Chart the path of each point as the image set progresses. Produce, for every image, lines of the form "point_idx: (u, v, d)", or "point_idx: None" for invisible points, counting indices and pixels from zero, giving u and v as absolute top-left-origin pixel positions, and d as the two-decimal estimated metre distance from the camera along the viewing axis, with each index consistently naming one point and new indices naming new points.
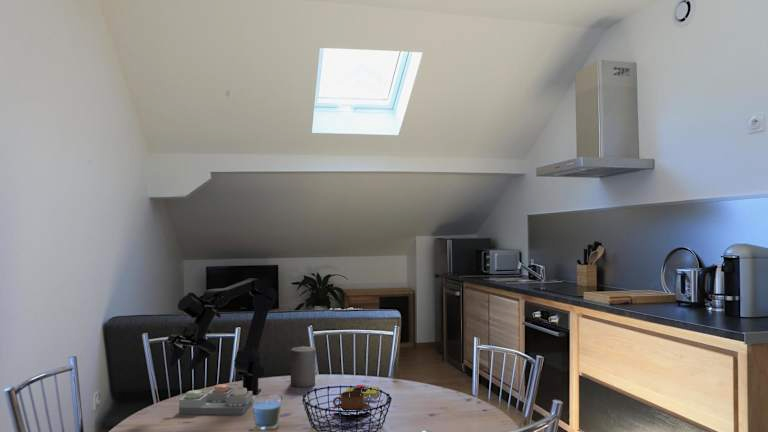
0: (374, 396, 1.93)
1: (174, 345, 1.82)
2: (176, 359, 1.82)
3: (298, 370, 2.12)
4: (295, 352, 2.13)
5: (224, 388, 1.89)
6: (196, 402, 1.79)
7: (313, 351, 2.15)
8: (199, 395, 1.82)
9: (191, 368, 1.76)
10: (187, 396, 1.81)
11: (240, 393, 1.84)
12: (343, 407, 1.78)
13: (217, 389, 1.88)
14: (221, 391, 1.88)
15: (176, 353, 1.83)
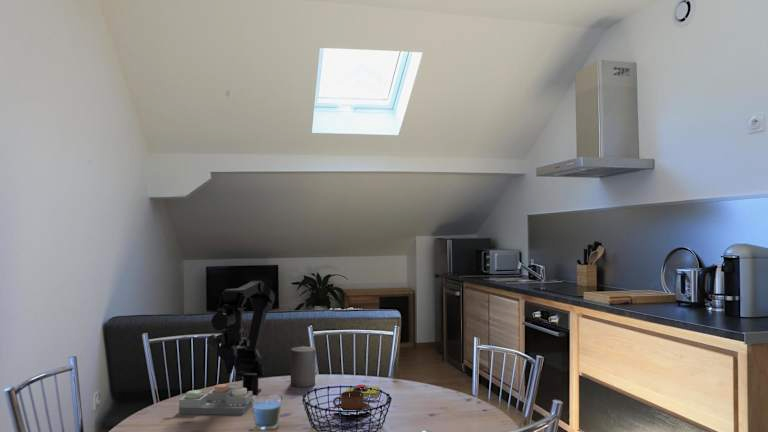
0: (375, 396, 1.93)
1: None
2: (238, 360, 1.94)
3: (298, 370, 2.12)
4: (295, 352, 2.12)
5: (224, 388, 1.89)
6: (196, 402, 1.79)
7: (313, 351, 2.15)
8: (199, 395, 1.82)
9: (229, 372, 1.86)
10: (187, 396, 1.81)
11: (240, 393, 1.84)
12: (343, 407, 1.78)
13: (217, 389, 1.88)
14: (221, 391, 1.88)
15: (236, 355, 1.95)
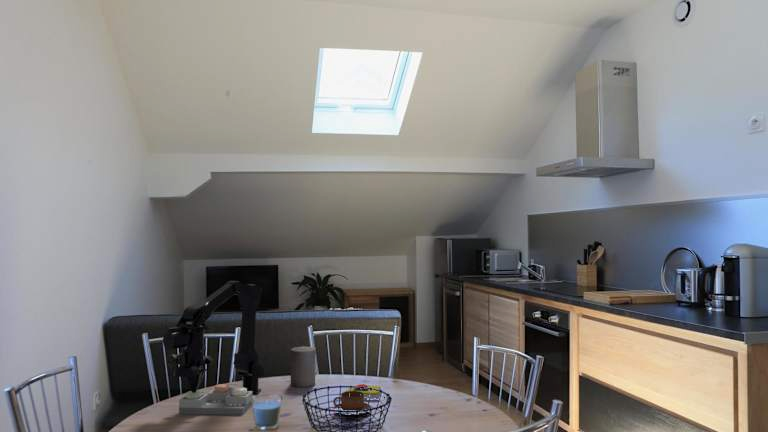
0: (375, 395, 1.94)
1: None
2: None
3: (298, 370, 2.12)
4: (295, 352, 2.12)
5: (224, 388, 1.89)
6: (196, 402, 1.79)
7: (313, 351, 2.15)
8: (199, 395, 1.82)
9: (193, 390, 1.82)
10: (187, 396, 1.81)
11: (240, 393, 1.84)
12: (343, 407, 1.78)
13: (217, 389, 1.88)
14: (221, 391, 1.88)
15: None
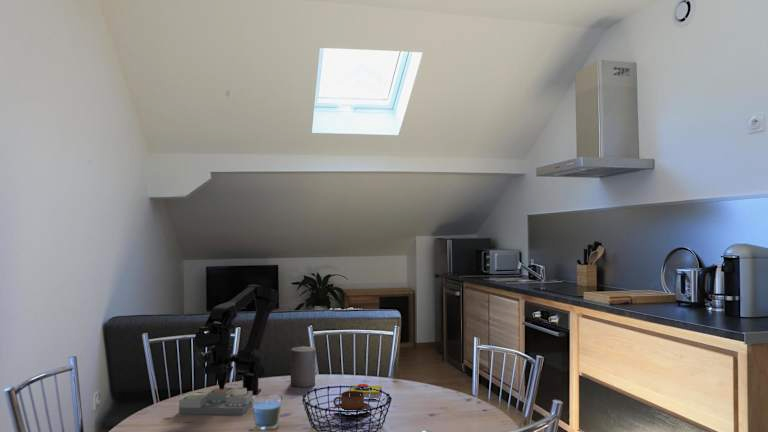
0: (376, 395, 1.94)
1: None
2: None
3: (298, 370, 2.12)
4: (295, 352, 2.13)
5: (224, 391, 1.89)
6: (196, 402, 1.79)
7: (313, 351, 2.15)
8: (199, 398, 1.82)
9: (221, 387, 1.90)
10: None
11: (240, 393, 1.84)
12: (343, 407, 1.78)
13: (217, 392, 1.88)
14: None
15: None
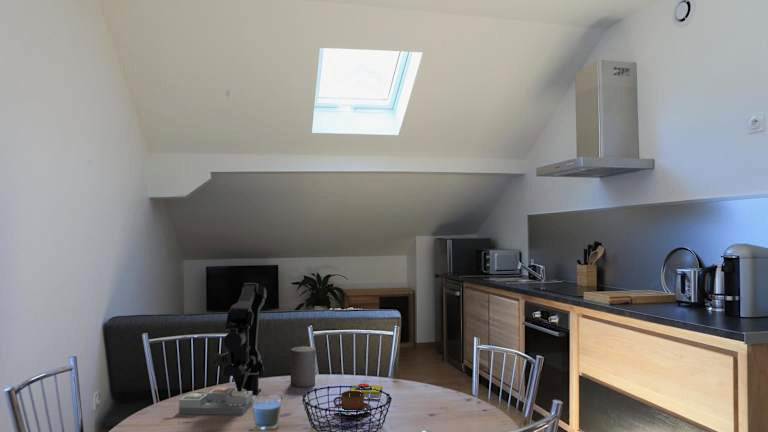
0: (377, 394, 1.95)
1: None
2: None
3: (298, 370, 2.12)
4: (295, 352, 2.13)
5: (224, 391, 1.89)
6: (196, 402, 1.79)
7: (313, 351, 2.15)
8: (199, 398, 1.82)
9: (239, 389, 1.86)
10: None
11: (240, 395, 1.84)
12: (343, 407, 1.78)
13: (217, 392, 1.88)
14: None
15: None
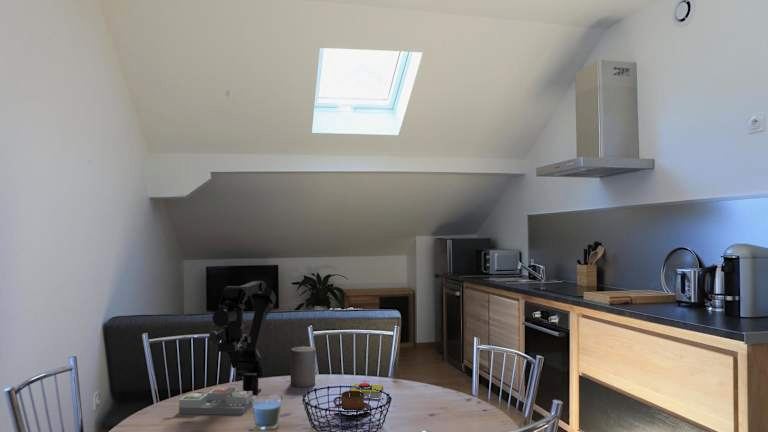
0: (378, 394, 1.95)
1: None
2: None
3: (298, 370, 2.12)
4: (295, 352, 2.12)
5: (224, 391, 1.89)
6: (196, 402, 1.79)
7: (313, 351, 2.15)
8: (199, 398, 1.82)
9: (233, 366, 1.91)
10: None
11: None
12: (344, 407, 1.78)
13: (217, 392, 1.88)
14: None
15: None
